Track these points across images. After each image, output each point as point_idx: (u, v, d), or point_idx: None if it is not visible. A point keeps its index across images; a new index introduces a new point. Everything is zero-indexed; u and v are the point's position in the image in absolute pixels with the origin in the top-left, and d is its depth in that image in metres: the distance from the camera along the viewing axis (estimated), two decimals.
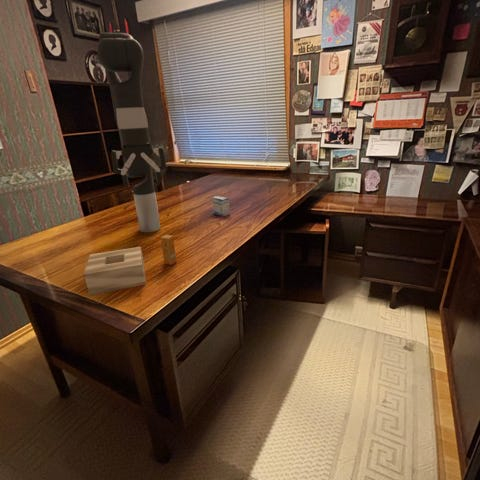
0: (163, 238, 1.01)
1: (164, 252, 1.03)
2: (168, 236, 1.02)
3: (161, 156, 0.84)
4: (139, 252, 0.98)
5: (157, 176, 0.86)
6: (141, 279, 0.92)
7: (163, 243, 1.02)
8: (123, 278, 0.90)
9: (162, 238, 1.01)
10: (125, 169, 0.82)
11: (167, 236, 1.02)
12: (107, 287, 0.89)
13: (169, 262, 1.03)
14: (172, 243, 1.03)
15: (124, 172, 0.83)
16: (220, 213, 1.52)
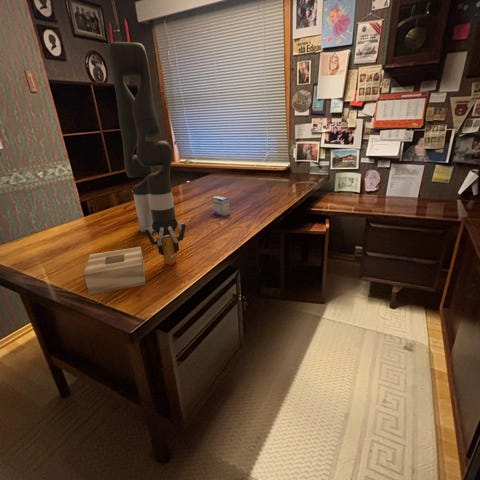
0: (163, 238, 1.01)
1: (164, 251, 1.03)
2: (168, 236, 1.02)
3: (182, 230, 1.02)
4: (139, 252, 0.98)
5: (175, 246, 1.03)
6: (141, 279, 0.92)
7: (163, 243, 1.02)
8: (123, 278, 0.90)
9: (162, 238, 1.01)
10: (159, 240, 1.00)
11: (167, 236, 1.02)
12: (107, 287, 0.89)
13: (169, 262, 1.03)
14: (172, 243, 1.03)
15: (160, 243, 1.01)
16: (220, 213, 1.52)
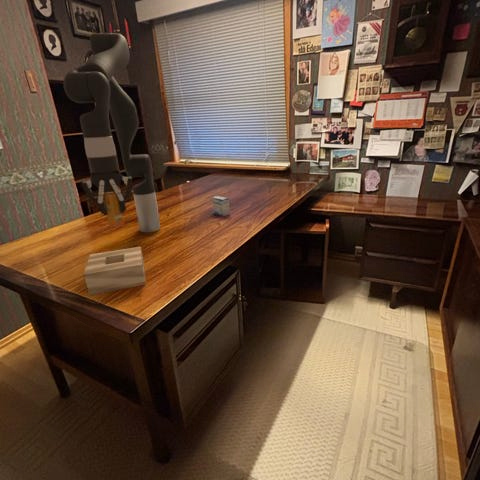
0: (105, 194, 0.86)
1: (108, 211, 0.87)
2: (112, 193, 0.87)
3: (128, 186, 0.87)
4: (139, 252, 0.98)
5: (121, 205, 0.88)
6: (141, 279, 0.92)
7: (106, 201, 0.86)
8: (123, 278, 0.90)
9: (104, 195, 0.86)
10: (100, 197, 0.85)
11: (110, 193, 0.87)
12: (107, 287, 0.89)
13: (114, 224, 0.88)
14: (117, 201, 0.87)
15: (101, 200, 0.85)
16: (220, 213, 1.52)
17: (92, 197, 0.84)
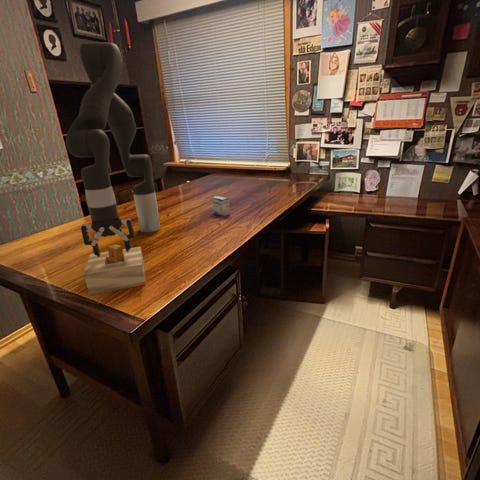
0: (110, 248, 0.92)
1: None
2: (116, 246, 0.93)
3: (129, 227, 0.91)
4: (139, 252, 0.98)
5: (126, 244, 0.92)
6: (141, 279, 0.92)
7: (110, 253, 0.92)
8: (123, 278, 0.90)
9: (109, 248, 0.92)
10: (95, 240, 0.89)
11: (115, 246, 0.93)
12: (107, 287, 0.89)
13: None
14: (120, 254, 0.93)
15: (94, 243, 0.89)
16: (220, 213, 1.52)
17: (86, 240, 0.88)
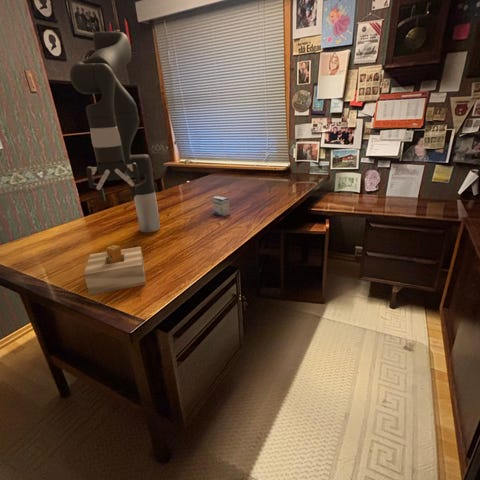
0: (108, 249, 0.92)
1: None
2: (114, 247, 0.92)
3: (135, 171, 0.89)
4: (139, 252, 0.98)
5: (131, 190, 0.91)
6: (141, 279, 0.92)
7: (108, 254, 0.92)
8: (123, 278, 0.90)
9: (107, 249, 0.92)
10: (100, 184, 0.88)
11: (113, 247, 0.92)
12: (107, 287, 0.89)
13: None
14: (119, 254, 0.93)
15: (99, 187, 0.88)
16: (220, 213, 1.52)
17: (91, 183, 0.87)
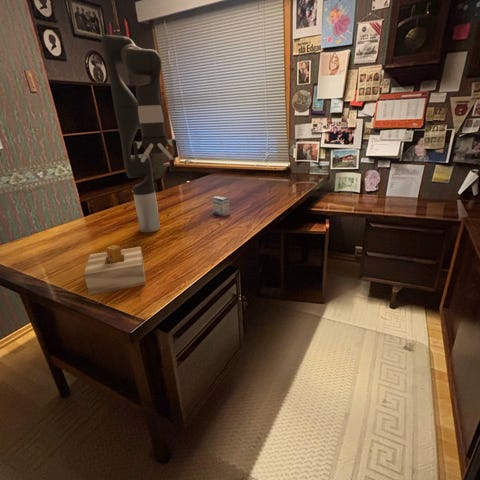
0: (108, 249, 0.92)
1: None
2: (114, 247, 0.92)
3: (174, 146, 1.00)
4: (139, 252, 0.98)
5: (171, 163, 1.02)
6: (141, 279, 0.92)
7: (108, 254, 0.92)
8: (123, 278, 0.90)
9: (107, 249, 0.92)
10: (144, 157, 0.99)
11: (113, 247, 0.92)
12: (107, 287, 0.89)
13: None
14: (119, 254, 0.93)
15: (143, 159, 0.99)
16: (220, 213, 1.52)
17: (137, 156, 0.98)
